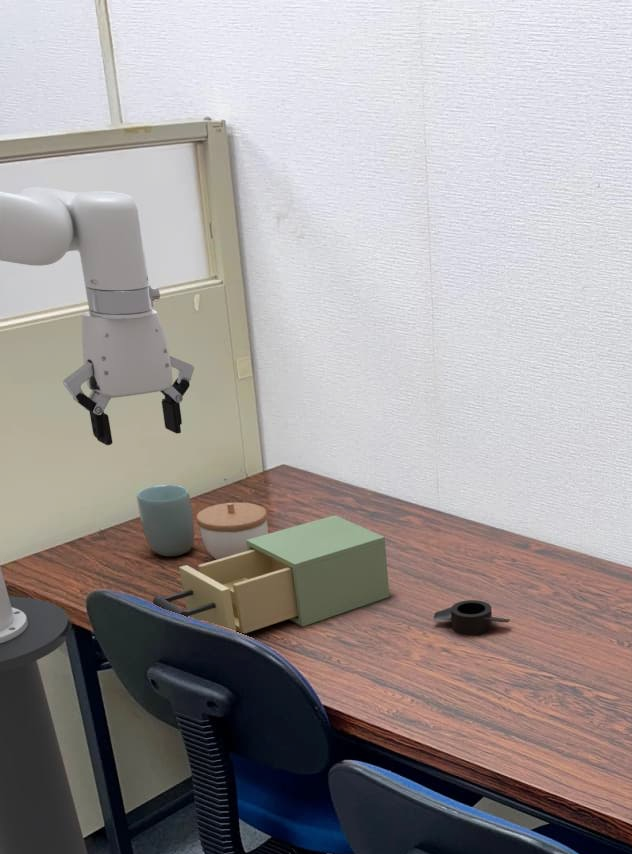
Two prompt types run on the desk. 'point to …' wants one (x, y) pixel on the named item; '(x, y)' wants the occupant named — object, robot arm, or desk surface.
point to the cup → (167, 519)
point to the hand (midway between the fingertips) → (139, 436)
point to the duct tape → (469, 617)
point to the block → (230, 586)
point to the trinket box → (231, 527)
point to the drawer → (237, 592)
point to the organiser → (329, 566)
